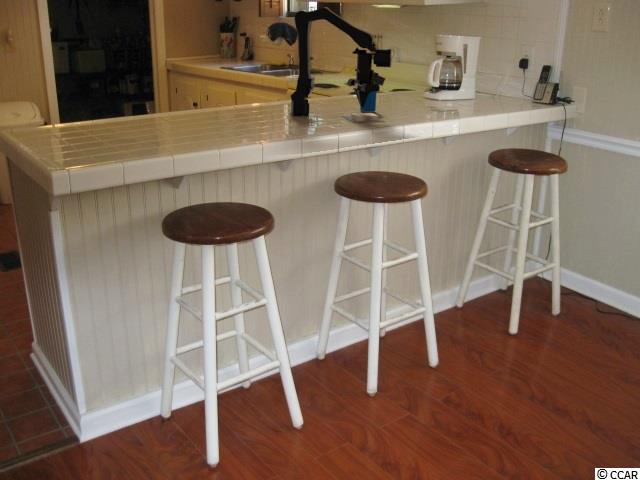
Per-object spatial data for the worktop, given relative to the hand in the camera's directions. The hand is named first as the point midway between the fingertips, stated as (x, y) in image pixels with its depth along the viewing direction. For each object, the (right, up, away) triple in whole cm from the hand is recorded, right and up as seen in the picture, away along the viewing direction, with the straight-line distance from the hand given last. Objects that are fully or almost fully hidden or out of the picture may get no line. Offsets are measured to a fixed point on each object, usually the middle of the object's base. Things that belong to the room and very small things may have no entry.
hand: (362, 107), depth 249 cm
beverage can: (+3, +1, +18) cm, 18 cm away
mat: (0, -5, 0) cm, 5 cm away
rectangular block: (0, -3, +1) cm, 3 cm away
